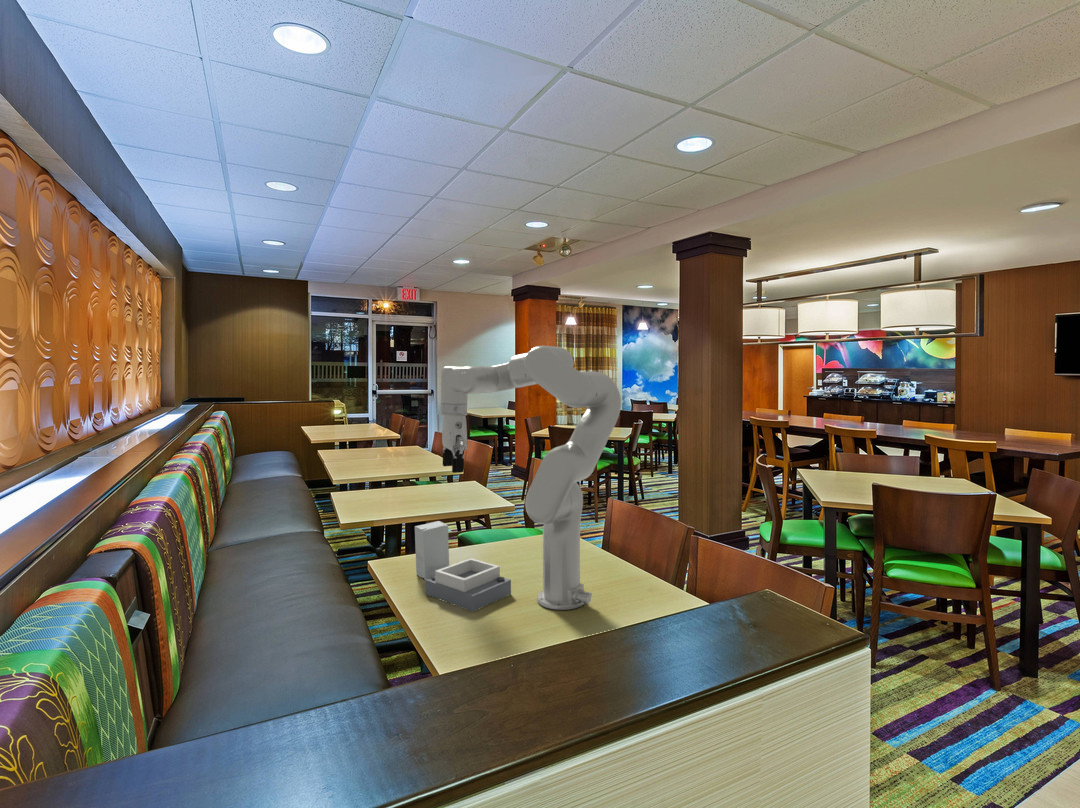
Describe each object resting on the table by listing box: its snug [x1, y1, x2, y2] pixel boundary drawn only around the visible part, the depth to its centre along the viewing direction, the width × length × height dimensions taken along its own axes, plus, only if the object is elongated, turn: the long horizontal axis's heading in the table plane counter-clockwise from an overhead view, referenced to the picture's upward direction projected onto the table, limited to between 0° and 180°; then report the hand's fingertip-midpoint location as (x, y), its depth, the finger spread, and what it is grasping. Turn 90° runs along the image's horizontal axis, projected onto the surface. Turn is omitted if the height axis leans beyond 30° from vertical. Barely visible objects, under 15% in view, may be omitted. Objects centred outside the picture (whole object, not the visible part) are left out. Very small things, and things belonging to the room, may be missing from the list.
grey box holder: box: [424, 557, 512, 612], centre depth 149 cm, size 18×14×7 cm
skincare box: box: [414, 520, 450, 581], centre depth 164 cm, size 8×6×15 cm
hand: (452, 469), depth 161 cm, fingers open, 9 cm apart
